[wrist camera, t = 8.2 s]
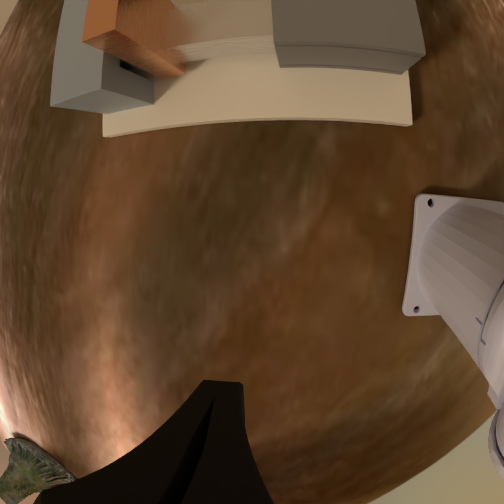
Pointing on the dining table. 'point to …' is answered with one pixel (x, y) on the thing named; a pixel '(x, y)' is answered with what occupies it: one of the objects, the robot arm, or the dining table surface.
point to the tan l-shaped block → (177, 32)
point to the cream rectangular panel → (297, 71)
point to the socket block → (92, 71)
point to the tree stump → (30, 471)
